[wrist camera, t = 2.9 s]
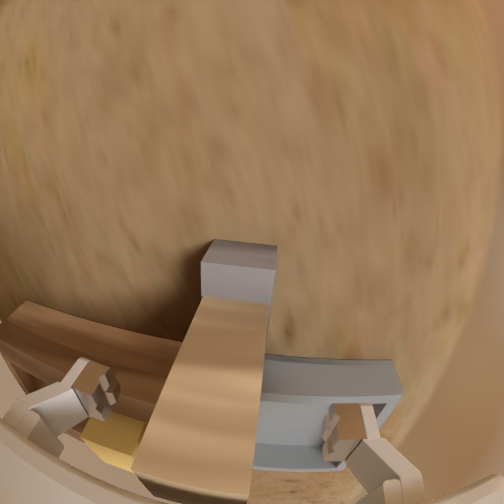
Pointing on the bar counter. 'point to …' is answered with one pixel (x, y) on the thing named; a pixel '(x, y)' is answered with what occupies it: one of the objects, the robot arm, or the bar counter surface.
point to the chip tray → (314, 406)
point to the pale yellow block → (115, 439)
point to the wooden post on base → (214, 385)
